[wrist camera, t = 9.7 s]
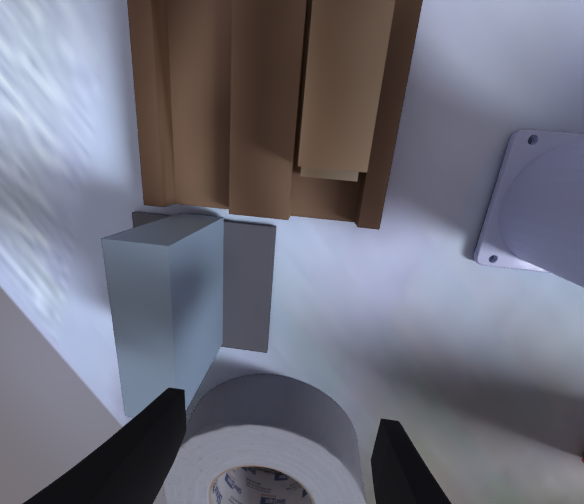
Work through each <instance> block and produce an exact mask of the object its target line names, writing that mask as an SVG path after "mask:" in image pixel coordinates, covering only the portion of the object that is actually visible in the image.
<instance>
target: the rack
mask: <svg viewBox="0 0 584 504" xmlns="http://www.w3.org/2000/svg"><path fill="white" fill-rule="evenodd" d="M422 1H423V0H395V6H394V12H393V18H392V24H391V31H390V37H389V43H388V49H387V55H386V61H385V67H384V73H383V79H382V85H381V91H380V97H379V103H378V109H377V115H376V121H375V128H374V134H373V140H372V146H371V152H370V158H369V164H368V170H367V172H359V173H358V180H357V182H356V181H345V180H334V179H324V178H313V177H302V176H300V174H301V166H298V158H299V147H300V135H301V124H302V113H303V102H304V90H305V79H306V68H307V57H308V45H309V34H310V23H311V12H312V0H127V3H128V15H129V28H130V40H131V52H132V64H133V77H134V89H135V101H136V114H137V126H138V138H139V151H140V163H141V175H142V188H143V200H144V205H148V206H158V207H165V206H169V205H173V204H182V205H192V206H202V207H212V208H221V209H229V214H235V215H245V216H254V217H264V218H274V219H283V220H288V219H289V218H290V216H299V217H309V218H319V219H328V220H338V221H348V222H355V224H356V225H357V227H360V228H370V229H379V228H380V223H381V217H382V212H383V207H384V201H385V196H386V191H387V186H388V180H389V175H390V170H391V165H392V159H393V154H394V149H395V144H396V138H397V133H398V128H399V123H400V117H401V112H402V107H403V101H404V96H405V91H406V86H407V80H408V75H409V70H410V65H411V59H412V54H413V49H414V44H415V38H416V33H417V28H418V23H419V17H420V12H421V7H422Z"/></svg>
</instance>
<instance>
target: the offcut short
mask: <svg viewBox="0 0 584 504" xmlns="http://www.w3.org/2000/svg"><path fill="white" fill-rule="evenodd" d="M394 6H395V0H312V12H311V23H310V34H309V45H308V57H307V68H306V79H305V90H304V102H303V113H302V124H301V135H300V147H299V158H298V166H301V167H312V168H323V169H334V170H345V171H356V172H367V170H368V164H369V158H370V152H371V146H372V140H373V134H374V128H375V121H376V115H377V109H378V103H379V97H380V91H381V85H382V79H383V73H384V67H385V61H386V55H387V49H388V43H389V37H390V31H391V24H392V18H393V12H394Z"/></svg>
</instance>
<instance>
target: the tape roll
mask: <svg viewBox="0 0 584 504" xmlns="http://www.w3.org/2000/svg"><path fill="white" fill-rule="evenodd" d="M252 466H255V467H266V468H270V469H274V470H277V471H279V472H282V473H284V474H270V473H265V472H261V471H259V470H256V469H254V468H252ZM163 484H164V495H165V498H166V502H167V504H367V503H366V497H365V491H364V485H363V478H362V471H361V464H360V456H359V448H358V441H357V436H356V432H355V429H354V427H353V424H352V422H351V420H350V419H349V417H348V416H347V414H346V413H345V412H344V410H343V409H342V408H341V407H340V406H339V405H338V404H337V403H336V402H335V401H334V400H333V399H332V398H331V397H329V396H328V395H326V394H325V393H324V392H322V391H320V390H319V389H317V388H315V387H313V386H311V385H309V384H307V383H305V382H302V381H299V380H296V379H293V378H289V377H285V376H279V375H271V374H254V375H246V376H241V377H238V378H234V379H231V380H228V381H226V382H224V383H222V384H220V385H218V386H216V387H214V388H213V389H212V390H210V391H209V392H208V393H207V394H206V395H205V396H204V397H203V398H202V399H201V400H200V402H199V403H198V405H197V406H196V408H195V410H194V412H193V414H192V416H191V418H190V420H189V422H188V423H187V425H186V433H185V436H184V439H183V441H182V444H181V446H180V449H179V451H178V454H177V456H176V458H175V461H174V463H173V465H172V467H171V469H170V471H169V473H168V475H167V477H166V479H165V481H164V483H163Z"/></svg>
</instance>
